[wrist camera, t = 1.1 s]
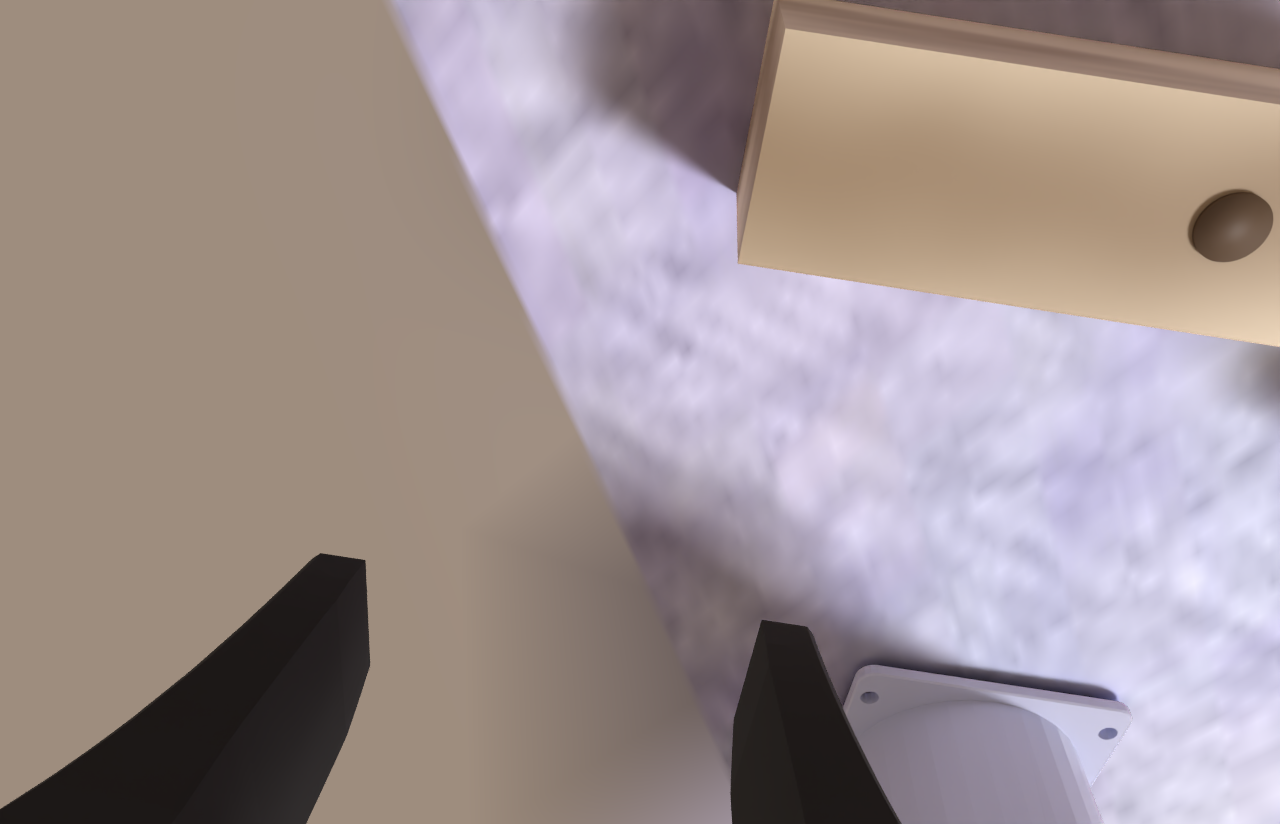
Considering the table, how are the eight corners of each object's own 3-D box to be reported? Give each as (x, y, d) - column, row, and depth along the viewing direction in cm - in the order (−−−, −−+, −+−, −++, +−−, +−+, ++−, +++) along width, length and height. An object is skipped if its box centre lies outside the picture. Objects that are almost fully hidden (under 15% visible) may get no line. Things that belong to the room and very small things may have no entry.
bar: (1285, 273, 20) (1401, 367, 17) (736, 188, 20) (738, 265, 16) (1390, 84, 18) (1548, 147, 14) (775, -11, 18) (785, 29, 14)
